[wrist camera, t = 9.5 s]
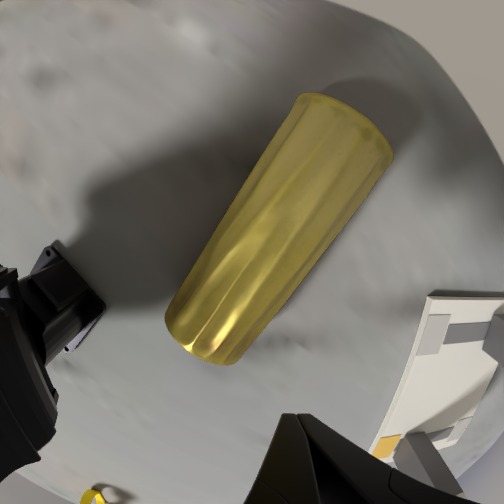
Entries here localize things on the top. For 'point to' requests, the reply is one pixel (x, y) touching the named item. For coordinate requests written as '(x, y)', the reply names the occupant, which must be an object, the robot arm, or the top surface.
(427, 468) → the switch
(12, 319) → the robot arm
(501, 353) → the switch
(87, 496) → the yellow ring
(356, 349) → the top surface
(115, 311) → the top surface
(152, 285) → the top surface
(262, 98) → the top surface
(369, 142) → the vase
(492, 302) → the switch board
